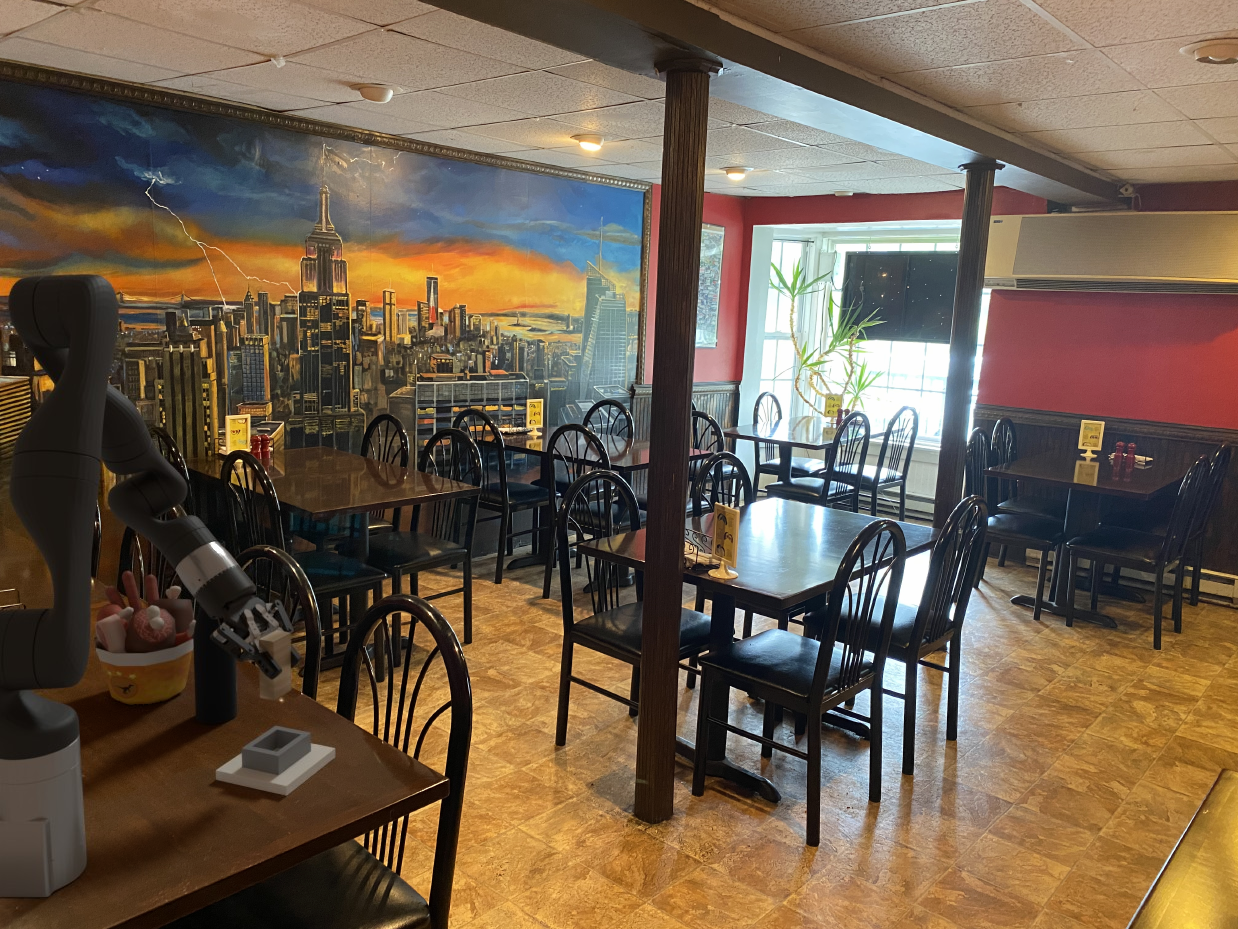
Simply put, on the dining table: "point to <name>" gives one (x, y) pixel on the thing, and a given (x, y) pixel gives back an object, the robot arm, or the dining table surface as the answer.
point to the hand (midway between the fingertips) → (287, 669)
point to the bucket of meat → (145, 642)
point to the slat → (281, 652)
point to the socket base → (276, 761)
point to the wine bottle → (213, 673)
